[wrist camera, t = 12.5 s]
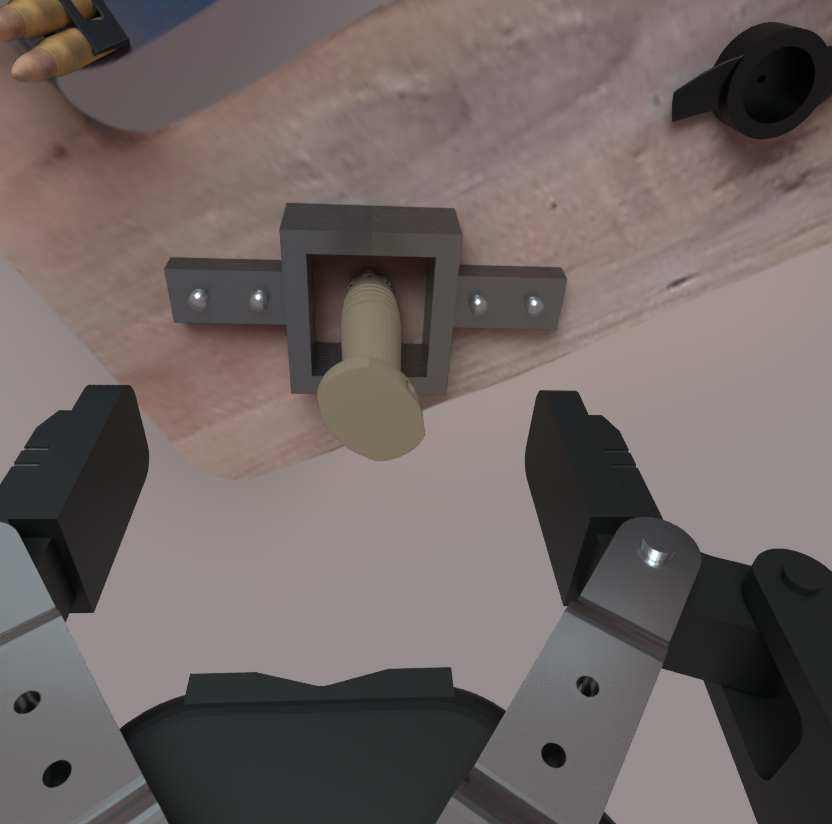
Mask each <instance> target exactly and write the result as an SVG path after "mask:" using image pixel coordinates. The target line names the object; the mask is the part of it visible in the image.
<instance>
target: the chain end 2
mask: <svg viewBox="0 0 832 824" xmlns="http://www.w3.org/2000/svg"><path fill="white" fill-rule="evenodd" d="M371 211H372V256H406V257H428V270H427V284H426V298H425V312H424V326H423V340H422V344H401V372H402V373H403V374H404V375H405V376H406V377H407V378H408V379H409V380H410V382H411V384H412V385H413V387H414V389H415V390H416V392H417V394H418V395H446V390H447V381H448V371H449V361H450V351H451V341H452V332H453V328H504V329H557V324H558V319H559V315H560V310H561V305H562V300H563V296H564V291H565V286H566V281H567V278H566V276H565V274H564V272H563V271H562V269H561V268H558V267H520V266H481V265H459V263H460V253H461V243H462V232H461V229H460V225H459V222H458V219H457V216H456V212H455V209H453V208H423V207H392V206H371Z"/></svg>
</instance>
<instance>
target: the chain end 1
mask: <svg viewBox="0 0 832 824" xmlns="http://www.w3.org/2000/svg"><path fill="white" fill-rule="evenodd" d="M279 230H280V244H281V257H282V260H248V259H209V258H170V260H169V261H168V263H167V265H166V267H165V268H164V271H165V276H166V281H167V287H168V292H169V297H170V303H171V308H172V313H173V318H174V323H223V324H279V325H286V327H287V341H288V355H289V369H290V383H291V393H292V394H317V392H318V386H319V384H320V381H321V379H322V378H323V376H324V375H325V373H326V372H327V371H328V370H330V369H331V368H332V367H333V366H335V365H336V364H338V363H340V362H342V347H341V343H320V342H316V336H315V312H314V289H313V265H312V254H331V255H369V256H372V211H371V206H362V205H332V204H301V203H287V204H286V207H285V211H284V215H283V218H282V222H281V226H280V229H279Z"/></svg>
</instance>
